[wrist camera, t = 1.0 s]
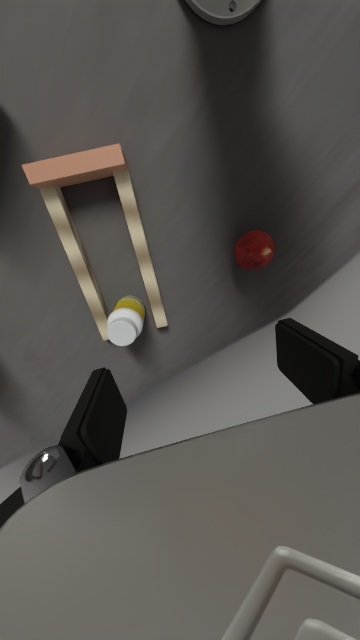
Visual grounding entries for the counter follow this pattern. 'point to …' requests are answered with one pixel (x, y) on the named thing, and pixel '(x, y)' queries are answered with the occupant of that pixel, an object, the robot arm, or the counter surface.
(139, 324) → the supplement bottle
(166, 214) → the counter surface
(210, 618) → the robot arm
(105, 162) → the wooden u-shaped frame
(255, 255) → the onion
